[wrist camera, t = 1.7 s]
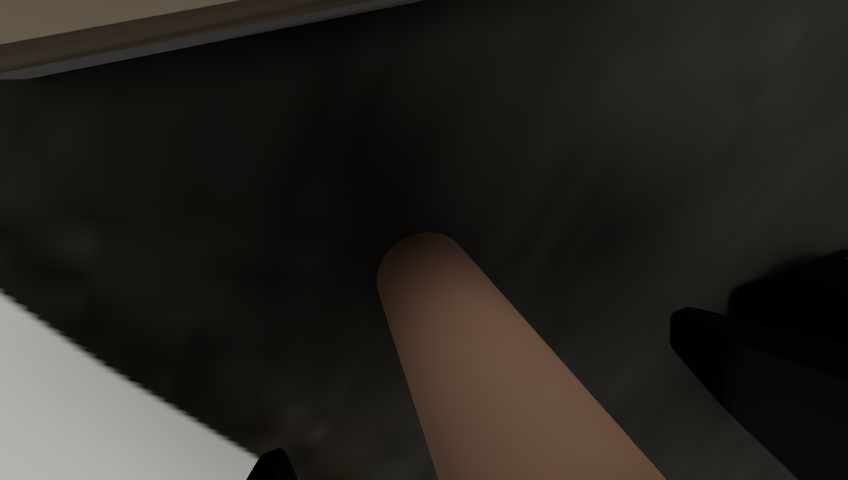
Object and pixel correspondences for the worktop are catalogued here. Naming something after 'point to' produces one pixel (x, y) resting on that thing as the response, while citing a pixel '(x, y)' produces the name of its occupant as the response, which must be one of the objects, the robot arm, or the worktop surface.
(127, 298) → the worktop surface
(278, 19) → the tray
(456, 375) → the peg
